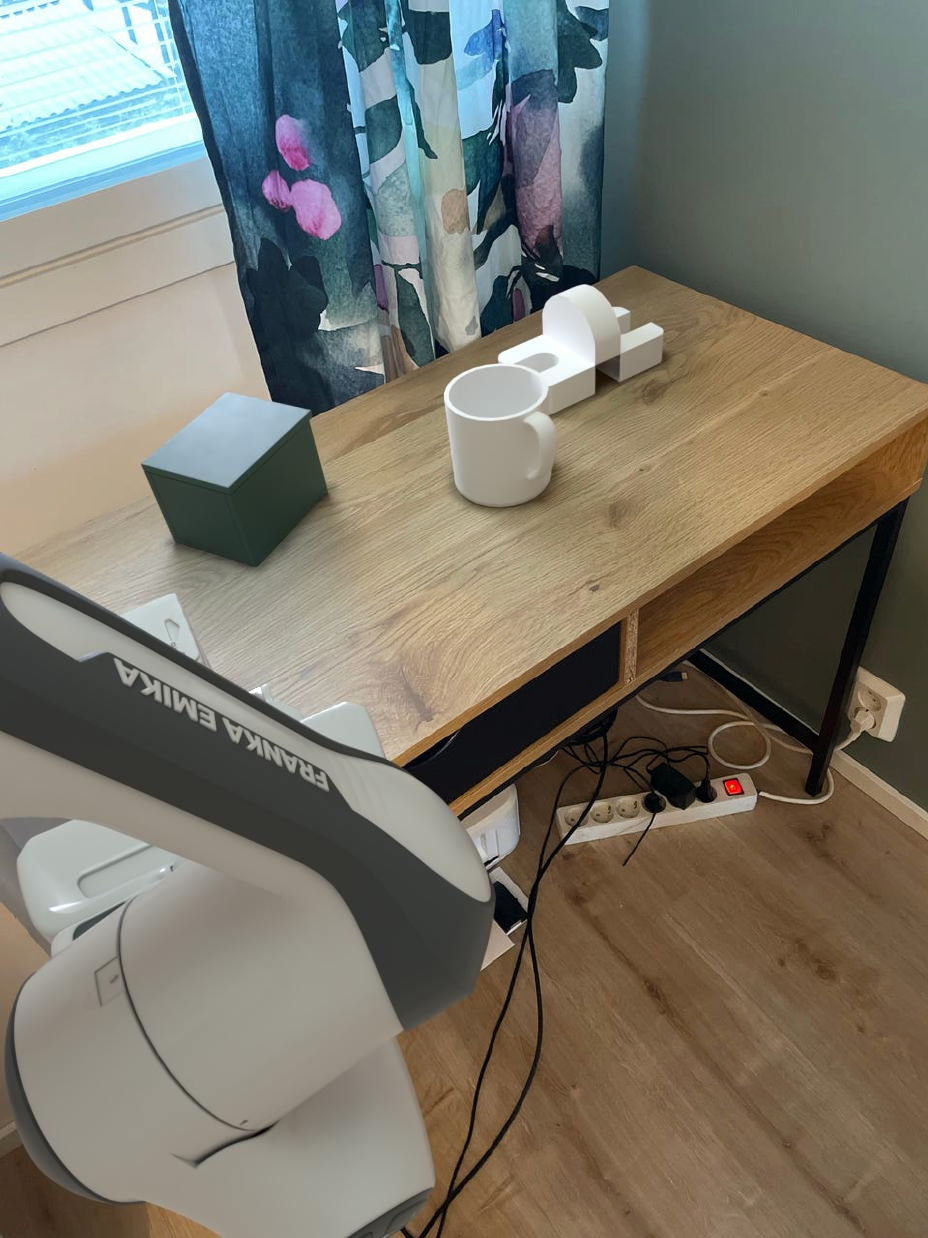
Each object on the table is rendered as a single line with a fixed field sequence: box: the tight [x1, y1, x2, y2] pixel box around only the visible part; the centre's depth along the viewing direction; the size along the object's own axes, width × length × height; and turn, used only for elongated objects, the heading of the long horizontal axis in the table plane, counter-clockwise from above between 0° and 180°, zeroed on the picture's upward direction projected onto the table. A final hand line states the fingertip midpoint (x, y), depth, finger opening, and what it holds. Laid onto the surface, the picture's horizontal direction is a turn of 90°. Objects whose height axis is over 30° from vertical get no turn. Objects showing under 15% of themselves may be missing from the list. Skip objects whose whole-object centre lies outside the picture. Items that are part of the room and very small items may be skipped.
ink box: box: [117, 592, 214, 671], centre depth 69 cm, size 8×5×12 cm, turn 27°
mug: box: [443, 363, 558, 508], centre depth 88 cm, size 13×10×10 cm
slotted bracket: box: [497, 284, 665, 416], centre depth 102 cm, size 18×10×10 cm, turn 124°
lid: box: [140, 391, 313, 494], centre depth 86 cm, size 13×11×1 cm
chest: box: [143, 420, 328, 568], centre depth 89 cm, size 13×11×9 cm
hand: (184, 725), depth 54 cm, fingers open, 8 cm apart
